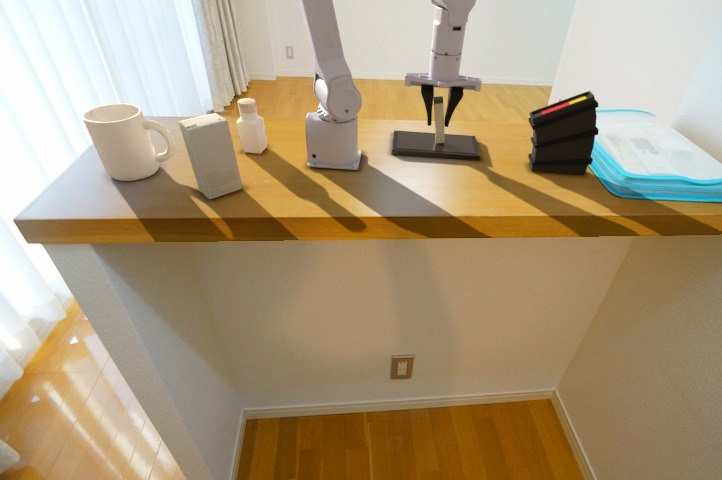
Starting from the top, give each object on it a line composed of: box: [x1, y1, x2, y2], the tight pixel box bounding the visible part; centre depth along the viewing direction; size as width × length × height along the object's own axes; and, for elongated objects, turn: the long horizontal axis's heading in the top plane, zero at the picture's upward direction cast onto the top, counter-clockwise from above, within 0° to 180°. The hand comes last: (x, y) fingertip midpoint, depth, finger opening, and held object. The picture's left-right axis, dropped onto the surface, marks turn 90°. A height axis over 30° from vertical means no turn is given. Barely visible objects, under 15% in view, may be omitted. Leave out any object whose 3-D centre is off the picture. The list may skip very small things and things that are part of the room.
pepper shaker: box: [236, 97, 268, 155], centre depth 79 cm, size 4×4×10 cm
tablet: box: [391, 129, 481, 161], centre depth 87 cm, size 18×10×1 cm, turn 88°
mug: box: [81, 103, 176, 182], centre depth 70 cm, size 12×8×10 cm
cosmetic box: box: [177, 112, 244, 200], centre depth 66 cm, size 6×4×12 cm
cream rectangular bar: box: [433, 95, 445, 144], centre depth 84 cm, size 2×2×9 cm
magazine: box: [527, 90, 599, 176], centre depth 79 cm, size 4×13×15 cm, turn 88°
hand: (437, 124), depth 85 cm, fingers open, 3 cm apart
